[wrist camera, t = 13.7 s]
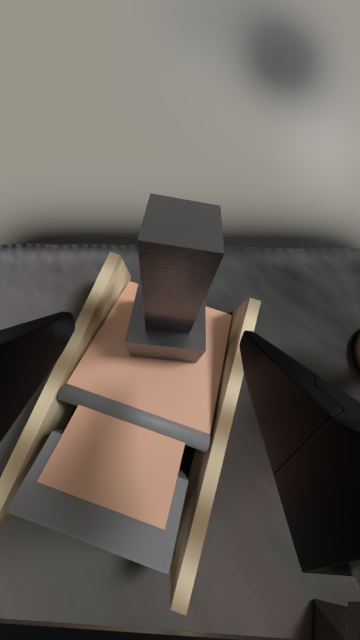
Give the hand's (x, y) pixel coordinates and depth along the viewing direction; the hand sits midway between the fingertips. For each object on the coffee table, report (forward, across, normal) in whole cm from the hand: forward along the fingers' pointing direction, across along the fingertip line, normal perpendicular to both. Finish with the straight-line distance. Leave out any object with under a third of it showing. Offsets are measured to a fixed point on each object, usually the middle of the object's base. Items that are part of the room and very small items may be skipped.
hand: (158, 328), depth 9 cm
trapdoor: (+6, +2, +12) cm, 14 cm away
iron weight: (+9, 0, +6) cm, 11 cm away
